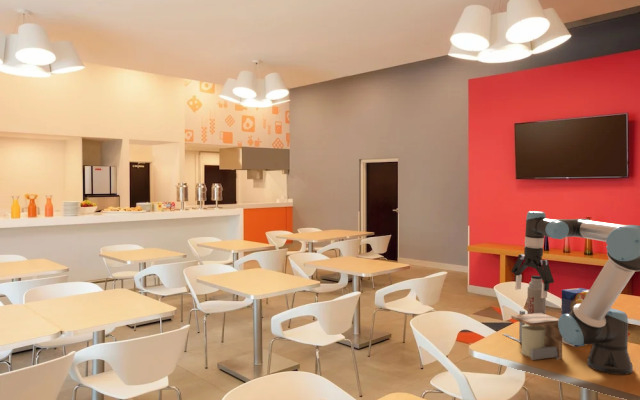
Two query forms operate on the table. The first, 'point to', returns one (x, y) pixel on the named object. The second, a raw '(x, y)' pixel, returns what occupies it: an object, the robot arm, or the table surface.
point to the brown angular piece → (548, 323)
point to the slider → (538, 352)
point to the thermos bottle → (535, 296)
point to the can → (532, 338)
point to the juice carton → (572, 302)
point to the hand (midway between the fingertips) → (530, 293)
